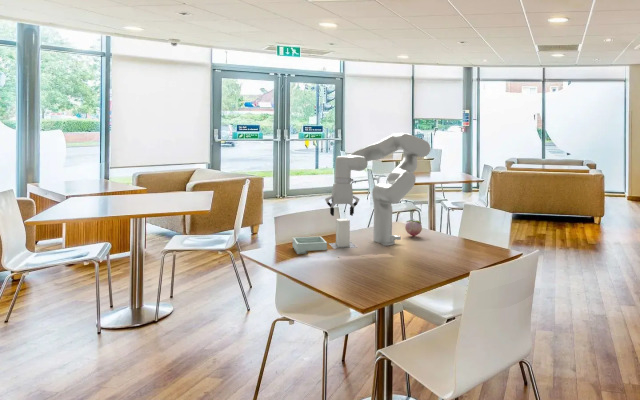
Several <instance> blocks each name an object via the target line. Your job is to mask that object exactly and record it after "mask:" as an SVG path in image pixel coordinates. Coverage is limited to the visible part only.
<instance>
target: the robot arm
mask: <svg viewBox="0 0 640 400" xmlns="http://www.w3.org/2000/svg"><path fill="white" fill-rule="evenodd" d="M400 150H401V151H403V157H402V160H401V162H399V164H398V165H397V166H396V167H395V168H394V169H393V170H392V171H391V172H389V174H388V177H387V183H385V182H380V183H377V184H376V185H374V187H373V189H372V192H371V193H372V200H373V237H372V238H373V242H374V243H379V244H380V245H381V246H384V247H387V246H388V247H389V246H394V245H395V244H396V243H395V241H396V240H397V241H398V240H401V239H402V237H401V235H394V234H392V233H393V206H392V204H393V205H394V204H397V203H399V202H400V201H401V200H402V199H403V198H404V197H406V195H407V194H408V193H409V192H410V191H411V190H412V189H413V187H414V186H415V184H416V175H415V174H414V173H415V171H416V170H417V168H418V158H419V157H420V158H423V157H427V156H428V155H429V154H430V153H431V145H430V143H429V142H428V141H427V140H425V139H422V138H421V137H417V136H415V135H413V134H410V133H406V132H395V133H392V134H391V135H388V136H386V137H384V138H383V139H381V140H380V141H377V142H375V143H372V144H370V145H368V146H365V147H363V148H360V149H357V150H355V151H353V152H351V153H350V154H348V155H338V156H336V158H335V169H334V170H335V171H334V173H335V175H334V176H335V177H334V178H335V179H334V181H335V182H334V183H333V185H332V190H331V195H330V196H327V197H326V198H324V201H325V202H326V204H327V206H328V207H329V210H330V211H329V212H330V215H331V216H332V217H334V216H335V205H349V206H350V207H349V215H350V216H353V215H354V214H355V207H356V206H357V205H358V203H359V202H360V198H359V197H357V196H355V195H353V193H354V191H353V190H354V189H353V185H352V182H354V179H353V178H352V176H351V175H352V173H351V171H354V172H355V171H356V172H361V171H364V170H366V169H367V167H368V162H370V161H371V162H372V161H377V160H382V159H384V158H386V157H388V156H389V155H391V154H393V153H396V152H397V151H400ZM330 200H331V203H330ZM354 200H355V201H354Z"/></svg>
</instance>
